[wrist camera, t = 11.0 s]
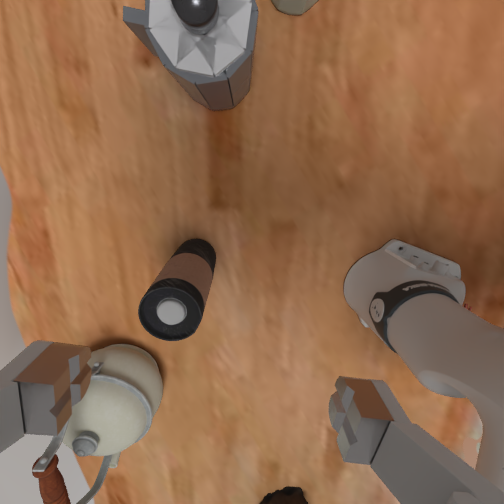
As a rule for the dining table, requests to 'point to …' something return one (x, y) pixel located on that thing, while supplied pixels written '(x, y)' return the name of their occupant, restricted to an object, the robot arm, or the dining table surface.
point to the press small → (293, 6)
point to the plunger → (197, 14)
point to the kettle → (104, 416)
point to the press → (202, 49)
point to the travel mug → (179, 292)
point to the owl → (285, 496)
